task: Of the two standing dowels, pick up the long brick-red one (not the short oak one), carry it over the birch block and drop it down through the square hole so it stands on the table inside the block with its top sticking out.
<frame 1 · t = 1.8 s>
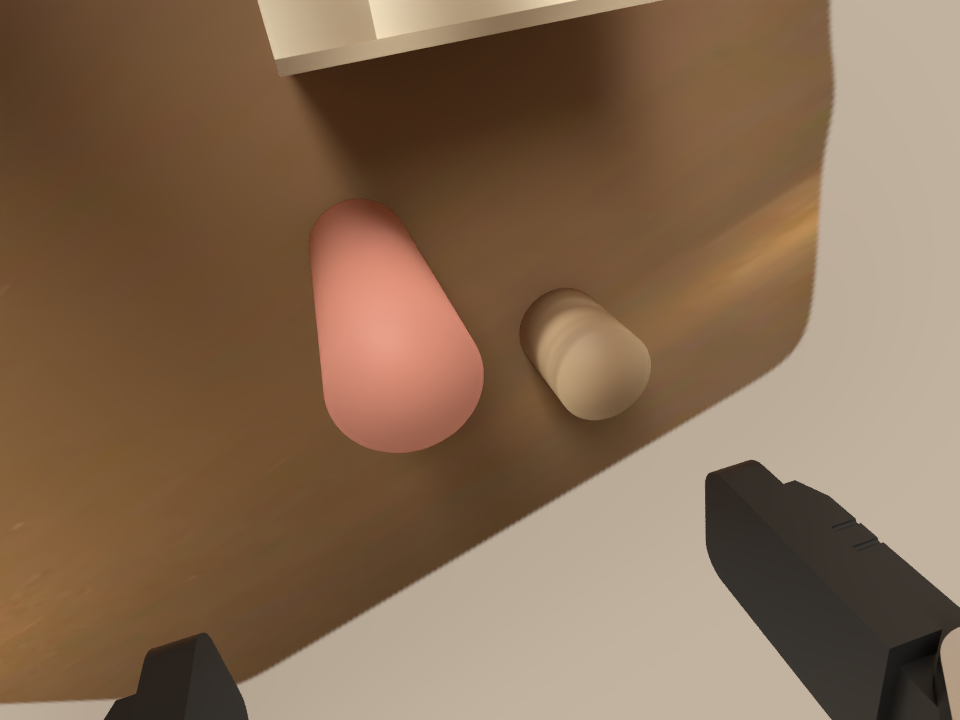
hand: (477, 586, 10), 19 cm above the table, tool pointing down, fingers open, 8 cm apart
long dowel: (360, 248, 27), on the table
short dowel: (560, 328, 31), on the table
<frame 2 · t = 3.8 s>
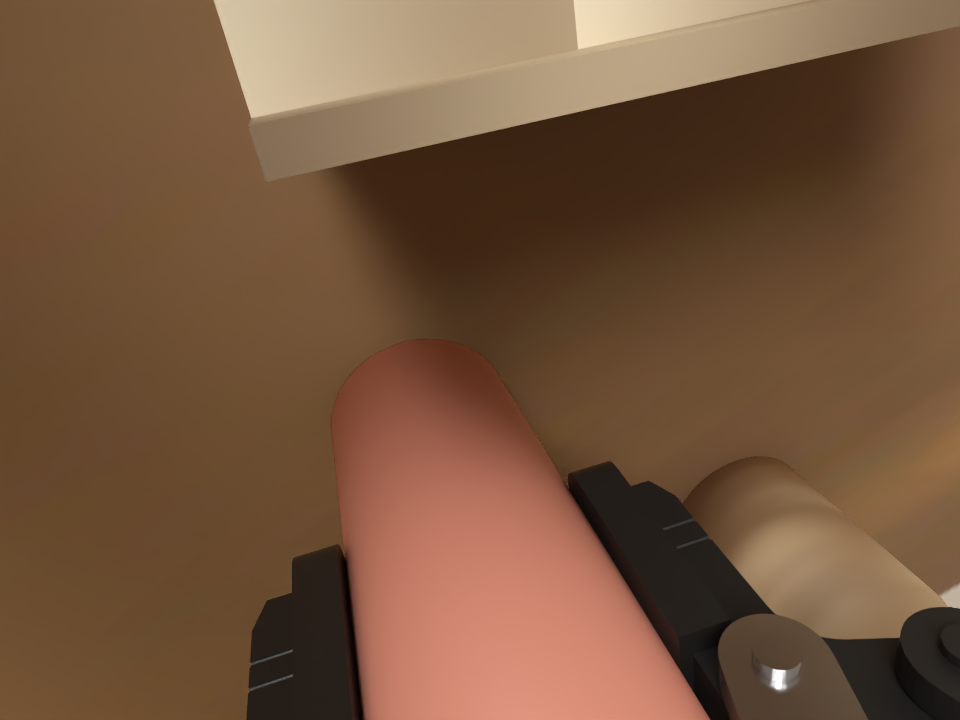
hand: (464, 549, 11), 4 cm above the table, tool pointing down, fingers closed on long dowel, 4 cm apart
long dowel: (422, 420, 15), on the table, touching gripper
short dowel: (737, 515, 19), on the table
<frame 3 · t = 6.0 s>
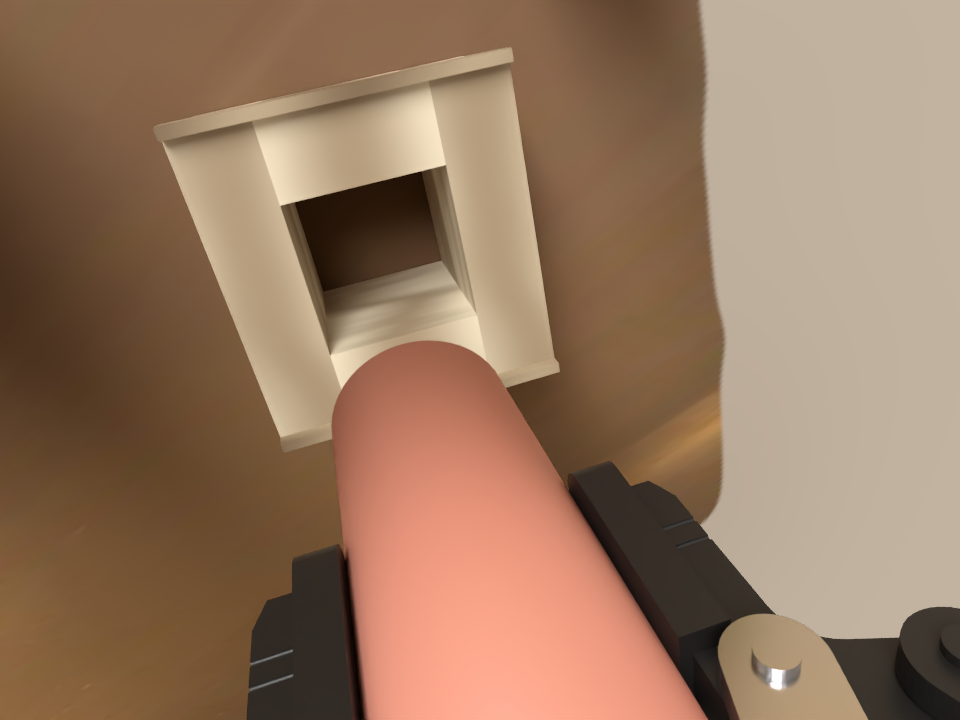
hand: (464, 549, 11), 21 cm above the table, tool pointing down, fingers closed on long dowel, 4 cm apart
long dowel: (422, 421, 15), point 17 cm above the table, touching gripper
hole block: (367, 217, 29), on the table
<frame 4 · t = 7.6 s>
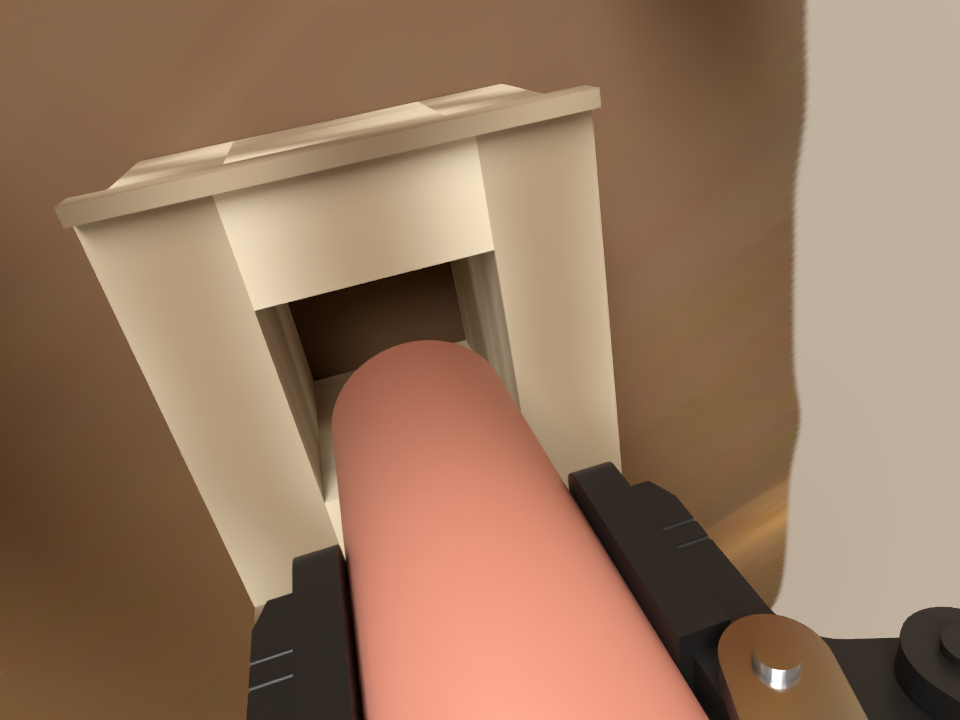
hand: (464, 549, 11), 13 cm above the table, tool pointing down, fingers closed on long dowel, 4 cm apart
long dowel: (422, 421, 15), point 9 cm above the table, touching gripper
hole block: (372, 288, 23), on the table
when the fingers open (10 cm above the table, at t = 8.6 s): long dowel drops 5 cm, resting in hole block.
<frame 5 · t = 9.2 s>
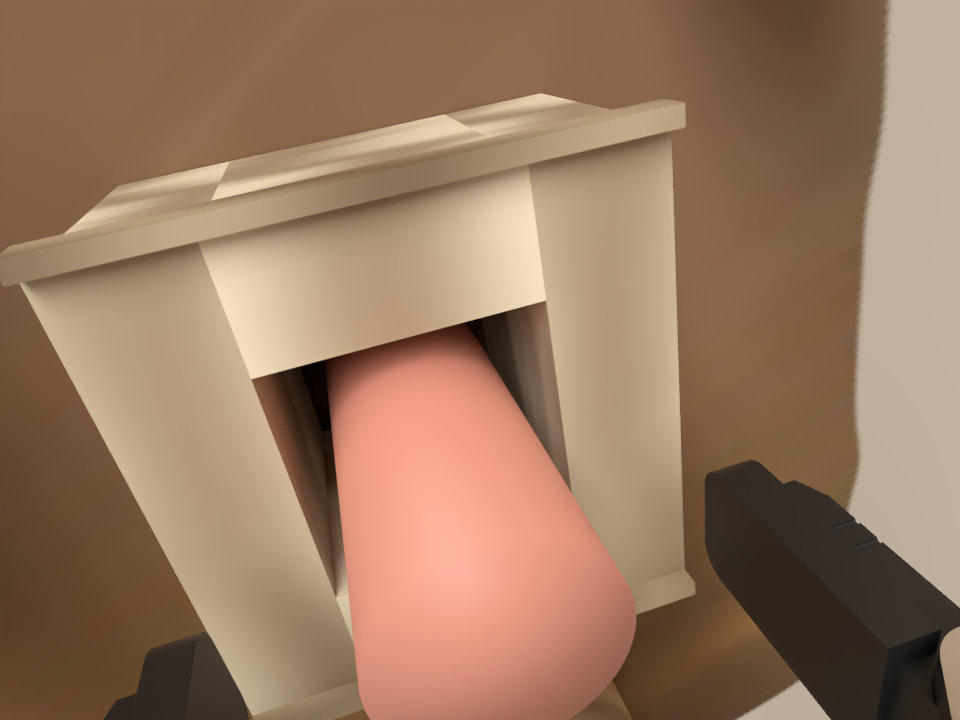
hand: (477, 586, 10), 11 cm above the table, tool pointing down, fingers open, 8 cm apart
long dowel: (390, 327, 20), resting in hole block
short dowel: (567, 690, 29), on the table
hole block: (389, 327, 20), on the table
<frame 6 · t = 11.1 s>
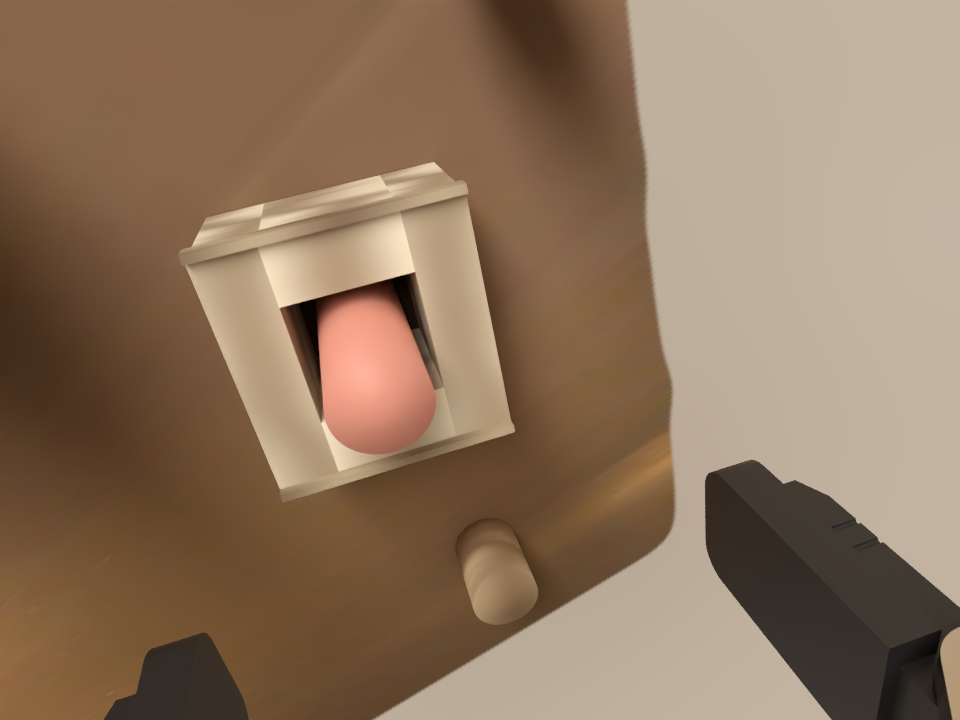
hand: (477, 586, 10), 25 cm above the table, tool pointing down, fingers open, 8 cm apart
long dowel: (355, 293, 34), resting in hole block
short dowel: (485, 543, 44), on the table
hole block: (354, 294, 34), on the table
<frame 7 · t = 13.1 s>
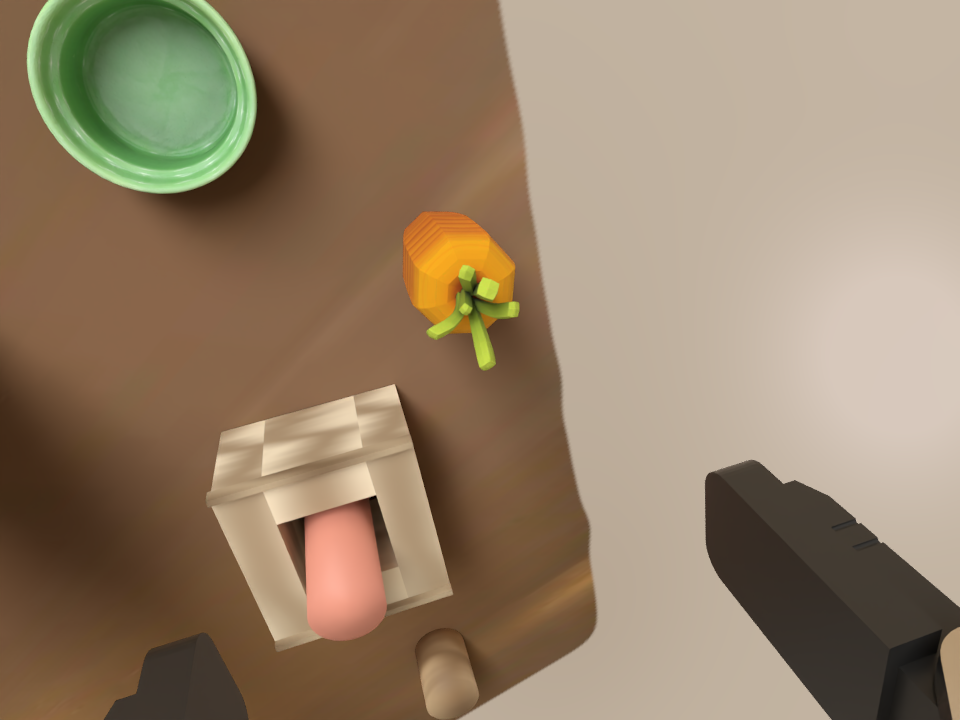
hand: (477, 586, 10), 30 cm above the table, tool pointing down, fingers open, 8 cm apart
carrot: (423, 226, 39), on the table
ramekin: (164, 82, 33), on the table
long dowel: (334, 475, 44), resting in hole block
short dowel: (439, 646, 54), on the table
hole block: (333, 476, 44), on the table
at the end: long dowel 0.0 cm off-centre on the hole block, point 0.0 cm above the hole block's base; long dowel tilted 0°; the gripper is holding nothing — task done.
